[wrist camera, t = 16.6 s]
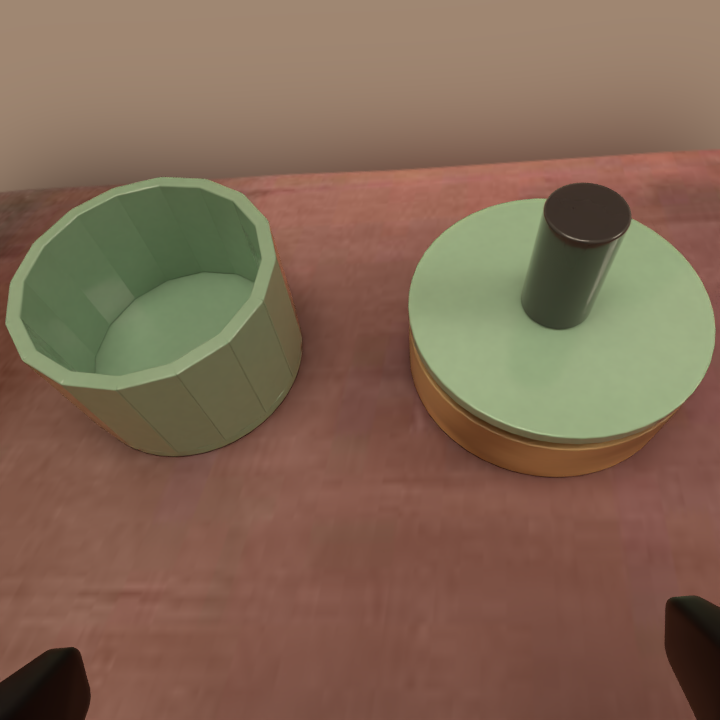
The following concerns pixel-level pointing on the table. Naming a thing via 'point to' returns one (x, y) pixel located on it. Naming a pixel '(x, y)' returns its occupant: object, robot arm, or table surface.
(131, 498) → the table surface
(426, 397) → the disc
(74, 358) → the green round open container
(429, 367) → the lid
